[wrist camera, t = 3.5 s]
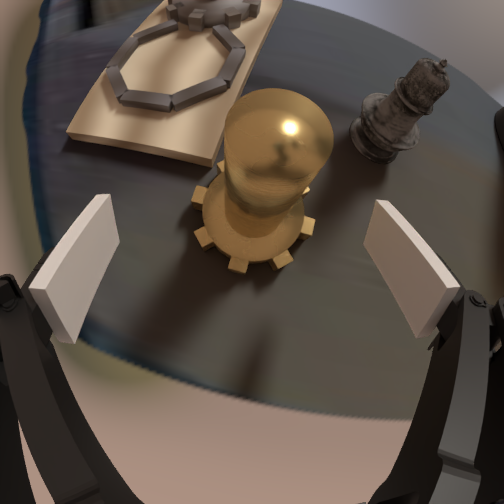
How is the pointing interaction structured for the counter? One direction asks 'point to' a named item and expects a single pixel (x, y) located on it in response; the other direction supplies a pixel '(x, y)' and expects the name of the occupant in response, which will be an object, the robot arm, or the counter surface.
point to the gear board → (177, 79)
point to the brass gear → (264, 178)
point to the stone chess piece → (399, 112)
